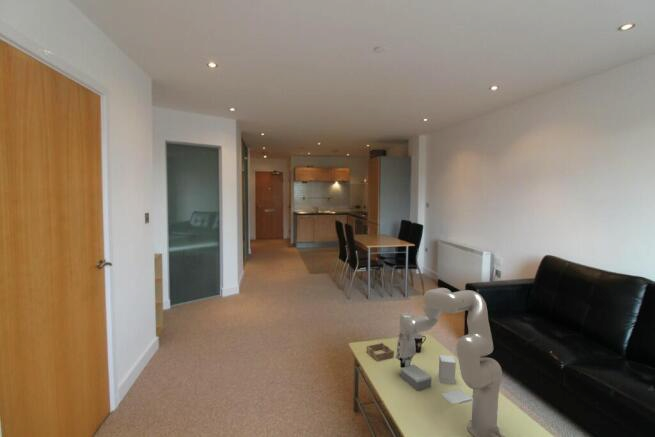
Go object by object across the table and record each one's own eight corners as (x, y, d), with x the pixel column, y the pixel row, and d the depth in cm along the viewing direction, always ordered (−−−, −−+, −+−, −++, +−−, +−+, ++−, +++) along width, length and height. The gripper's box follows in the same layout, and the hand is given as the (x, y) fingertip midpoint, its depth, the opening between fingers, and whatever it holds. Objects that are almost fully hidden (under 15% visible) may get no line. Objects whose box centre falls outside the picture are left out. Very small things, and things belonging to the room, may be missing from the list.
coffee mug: (410, 353, 198) (410, 338, 197) (407, 347, 207) (407, 332, 206) (428, 354, 198) (429, 338, 197) (424, 347, 206) (425, 332, 206)
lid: (431, 378, 161) (431, 370, 161) (417, 382, 158) (417, 374, 157) (409, 362, 177) (409, 355, 177) (396, 366, 173) (396, 358, 173)
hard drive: (459, 389, 160) (439, 393, 156) (472, 398, 152) (451, 404, 148) (459, 392, 160) (439, 396, 156) (471, 402, 152) (451, 407, 148)
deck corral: (393, 357, 193) (393, 351, 192) (377, 361, 188) (377, 355, 187) (382, 348, 204) (382, 342, 203) (366, 352, 199) (366, 346, 198)
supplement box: (455, 386, 164) (456, 362, 163) (440, 384, 166) (441, 361, 165) (452, 378, 171) (453, 355, 171) (438, 376, 173) (439, 354, 172)
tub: (430, 388, 162) (431, 378, 162) (417, 392, 158) (417, 383, 158) (413, 375, 174) (414, 366, 173) (400, 378, 170) (401, 370, 169)
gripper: (398, 341, 165) (397, 374, 167) (422, 335, 172) (421, 368, 173) (390, 335, 172) (389, 367, 173) (413, 330, 179) (412, 361, 180)
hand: (405, 367), depth 173 cm, fingers closed on lid, 3 cm apart
